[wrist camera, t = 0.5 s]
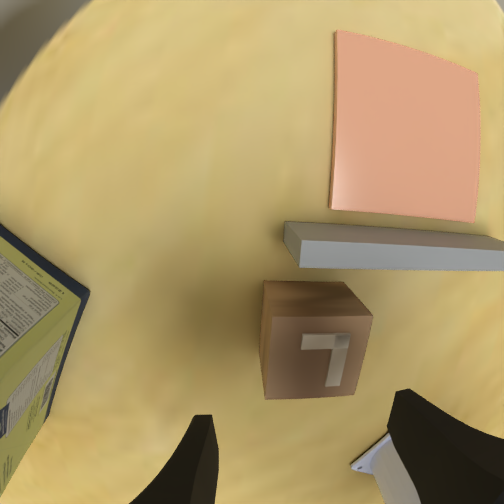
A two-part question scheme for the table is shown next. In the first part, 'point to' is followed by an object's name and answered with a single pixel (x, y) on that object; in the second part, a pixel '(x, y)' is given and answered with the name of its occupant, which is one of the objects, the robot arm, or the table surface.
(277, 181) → the table surface
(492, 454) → the robot arm
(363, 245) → the slate screen
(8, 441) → the protein box
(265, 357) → the walnut cube
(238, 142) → the table surface
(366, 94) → the terracotta tile
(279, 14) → the table surface
